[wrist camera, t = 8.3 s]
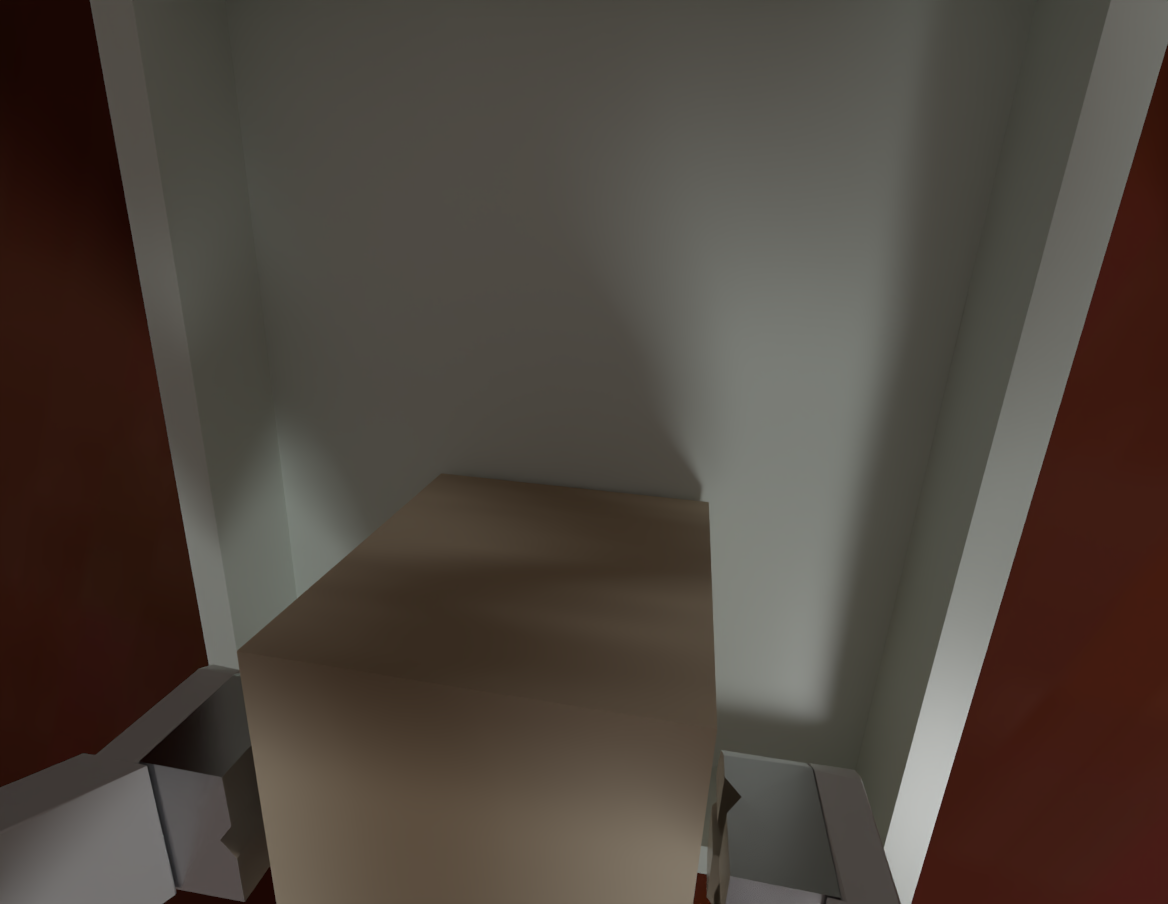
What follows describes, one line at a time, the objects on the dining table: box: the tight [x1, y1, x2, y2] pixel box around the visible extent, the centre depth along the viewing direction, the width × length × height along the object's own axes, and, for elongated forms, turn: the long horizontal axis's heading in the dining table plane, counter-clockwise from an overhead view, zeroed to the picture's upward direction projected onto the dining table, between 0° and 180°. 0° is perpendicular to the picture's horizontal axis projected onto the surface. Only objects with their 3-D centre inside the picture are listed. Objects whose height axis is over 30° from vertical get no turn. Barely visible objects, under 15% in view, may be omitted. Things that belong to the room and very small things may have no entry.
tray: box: [90, 0, 1168, 904], centre depth 10 cm, size 14×12×2 cm
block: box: [237, 473, 717, 904], centre depth 9 cm, size 4×4×5 cm
